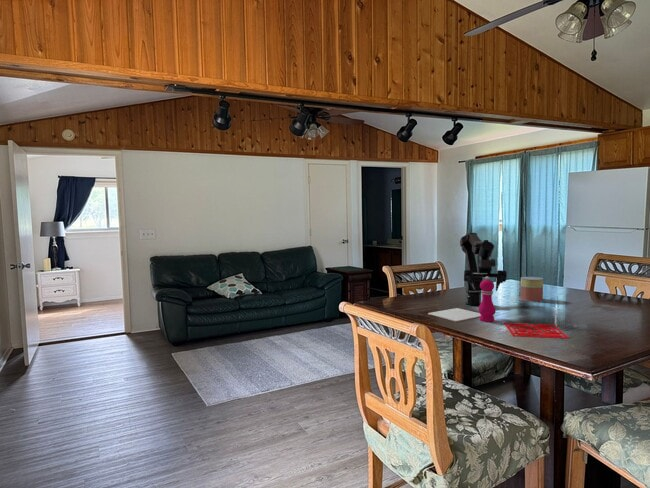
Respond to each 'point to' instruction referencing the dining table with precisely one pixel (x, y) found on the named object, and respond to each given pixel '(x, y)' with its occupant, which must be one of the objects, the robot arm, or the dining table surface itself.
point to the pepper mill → (487, 301)
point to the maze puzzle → (538, 326)
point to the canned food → (532, 289)
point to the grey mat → (456, 314)
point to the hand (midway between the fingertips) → (486, 290)
